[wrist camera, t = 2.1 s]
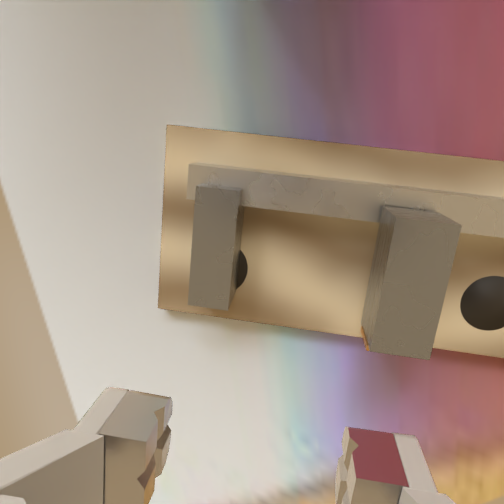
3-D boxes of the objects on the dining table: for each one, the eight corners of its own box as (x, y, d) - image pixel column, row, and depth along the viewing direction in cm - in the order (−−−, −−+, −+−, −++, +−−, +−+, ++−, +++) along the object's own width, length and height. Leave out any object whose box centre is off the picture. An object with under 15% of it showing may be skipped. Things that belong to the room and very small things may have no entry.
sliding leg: (375, 200, 25) (394, 217, 20) (429, 206, 25) (463, 225, 20) (355, 313, 27) (367, 355, 22) (404, 320, 27) (429, 364, 22)
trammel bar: (196, 162, 26) (182, 165, 23) (574, 205, 24) (614, 215, 21) (188, 284, 28) (174, 303, 25) (534, 332, 27) (566, 359, 24)
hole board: (172, 125, 27) (166, 124, 26) (608, 172, 25) (623, 174, 24) (163, 301, 30) (157, 308, 29) (548, 356, 28) (559, 366, 27)
